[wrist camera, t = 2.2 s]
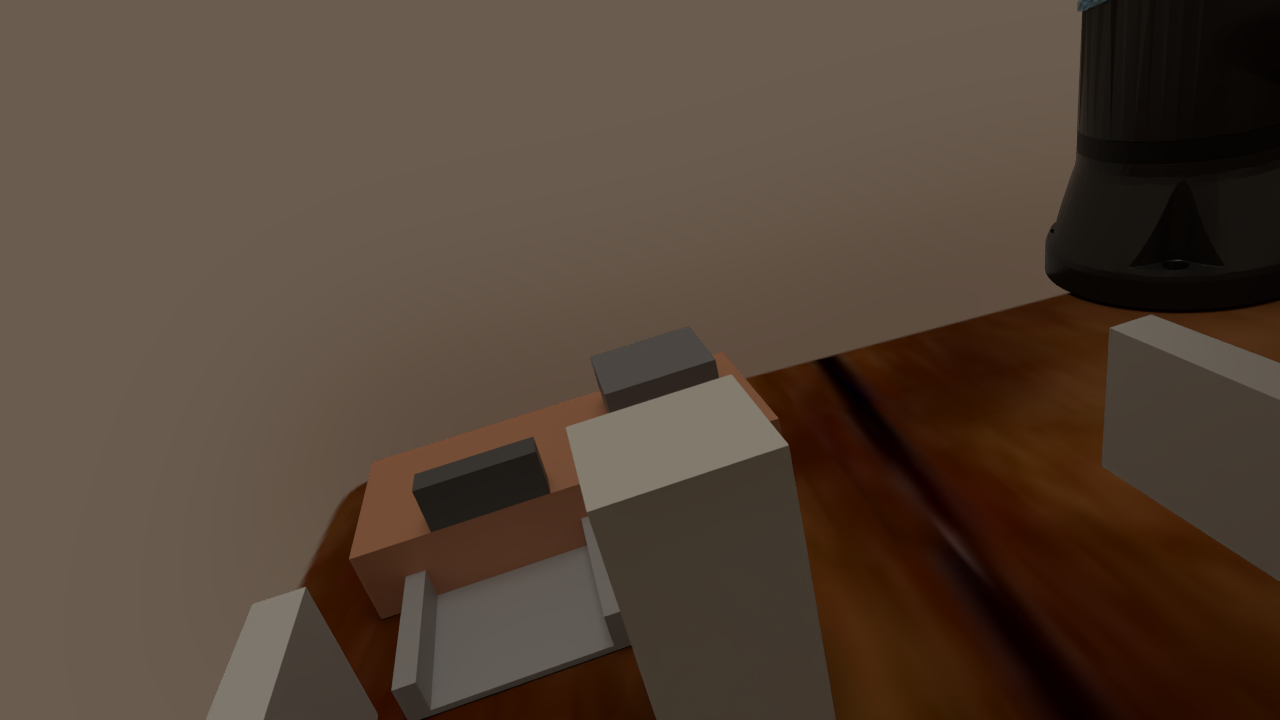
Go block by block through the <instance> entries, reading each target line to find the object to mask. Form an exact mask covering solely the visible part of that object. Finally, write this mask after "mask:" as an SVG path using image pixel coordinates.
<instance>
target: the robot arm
mask: <svg viewBox="0 0 1280 720" xmlns="http://www.w3.org/2000/svg"><path fill="white" fill-rule="evenodd" d="M1077 9H1078V11H1082V30H1081V53H1080V77H1079V99H1078V100H1079V101H1078V122H1077V152H1076V162H1075V166H1074V169H1073V172H1072V175H1071V177H1070V180H1069V183H1068V186H1067V189H1066V192H1065V195H1064V198H1063V201H1062V204H1061V207H1060V210H1059V214H1058V217H1057V221H1056V222H1055V223H1054V224H1053V225H1052V227H1051V228H1050V230H1049V233H1048V235H1047V238H1046V245H1045V246H1046V247H1045V248H1046V249H1045V271H1046V274H1047V276H1048V277H1049V278H1050V280H1051V281H1053V282H1054V283H1055V284H1056V285H1057V286H1059V287H1061V288H1063V289H1065V290H1066V291H1068V292H1071V293H1073V294H1076V295H1078V296H1081V297H1084V298H1087V299H1091V300H1095V301H1099V302H1103V303H1108V304H1114V305H1120V306H1127V307H1135V308H1146V309H1163V310H1197V309H1214V308H1225V307H1233V306H1241V305H1247V304H1252V303H1258V302H1262V301H1267V300H1271V299H1274V298H1278V297H1280V0H1079V1H1078V3H1077ZM1102 467H1104V468H1105V469H1107V470H1109V471H1110V472H1112V473H1113V474H1115V475H1116V476H1118V477H1119V478H1121V479H1122V480H1124V481H1126V482H1127V483H1129V484H1130V485H1132V486H1133V487H1135V488H1136V489H1138V490H1139V491H1141V492H1142V493H1144V494H1146V495H1147V496H1149V497H1150V498H1152V499H1153V500H1155V501H1156V502H1158V503H1159V504H1161V505H1162V506H1164V507H1166V508H1167V509H1169V510H1170V511H1172V512H1173V513H1175V514H1176V515H1178V516H1179V517H1181V518H1183V519H1184V520H1186V521H1187V522H1189V523H1190V524H1192V525H1193V526H1195V527H1196V528H1198V529H1199V530H1201V531H1203V532H1204V533H1206V534H1207V535H1209V536H1210V537H1212V538H1213V539H1215V540H1216V541H1218V542H1220V543H1221V544H1223V545H1224V546H1226V547H1227V548H1229V549H1230V550H1232V551H1233V552H1235V553H1236V554H1238V555H1240V556H1241V557H1243V558H1244V559H1246V560H1247V561H1249V562H1250V563H1252V564H1253V565H1255V566H1257V567H1258V568H1260V569H1261V570H1263V571H1264V572H1266V573H1267V574H1269V575H1270V576H1272V577H1273V578H1275V579H1277V580H1278V581H1280V363H1278V362H1275V361H1273V360H1270V359H1267V358H1265V357H1262V356H1260V355H1257V354H1254V353H1252V352H1249V351H1246V350H1244V349H1241V348H1238V347H1236V346H1233V345H1230V344H1228V343H1225V342H1222V341H1220V340H1217V339H1215V338H1212V337H1209V336H1207V335H1204V334H1201V333H1199V332H1196V331H1193V330H1191V329H1188V328H1185V327H1183V326H1180V325H1177V324H1175V323H1172V322H1170V321H1167V320H1164V319H1162V318H1159V317H1156V316H1154V315H1148V316H1145V317H1142V318H1139V319H1136V320H1133V321H1129V322H1126V323H1123V324H1120V325H1117V326H1114V327H1111V328H1110V330H1109V347H1108V365H1107V382H1106V400H1105V417H1104V434H1103V452H1102ZM377 717H378V714H377V712H376V710H375V709H374V707H373V705H372V703H371V702H370V700H369V698H368V696H367V694H366V693H365V691H364V689H363V687H362V686H361V684H360V682H359V680H358V679H357V677H356V675H355V673H354V671H353V670H352V668H351V666H350V664H349V663H348V661H347V659H346V657H345V656H344V654H343V652H342V650H341V648H340V647H339V645H338V643H337V641H336V640H335V638H334V636H333V634H332V633H331V631H330V629H329V627H328V625H327V624H326V622H325V620H324V618H323V617H322V615H321V613H320V611H319V610H318V608H317V606H316V604H315V602H314V601H313V599H312V597H311V595H310V594H309V592H308V590H307V588H306V587H304V588H301V589H298V590H295V591H292V592H289V593H286V594H282V595H279V596H276V597H273V598H270V599H267V600H264V601H261V602H258V603H255V604H253V605H252V607H251V610H250V612H249V614H248V617H247V619H246V622H245V624H244V627H243V629H242V632H241V634H240V637H239V639H238V642H237V644H236V646H235V649H234V651H233V654H232V656H231V659H230V661H229V664H228V666H227V669H226V671H225V674H224V676H223V679H222V681H221V683H220V686H219V688H218V691H217V694H216V696H215V698H214V701H213V703H212V706H211V708H210V710H209V713H208V715H207V718H206V720H377Z"/></svg>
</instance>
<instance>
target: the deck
mask: <svg viewBox="0 0 1280 720" xmlns="http://www.w3.org/2000/svg"><path fill="white" fill-rule="evenodd" d="M590 358H591V362H592V365H593V368H594V372H595V375H596V378H597V382H598V385H599V389H600V391H597V392H594V393H590V394H587V395H584V396H581V397H578V398H575V399H572V400H568V401H565V402H562V403H559V404H556V405H553V406H549V407H546V408H543V409H540V410H537V411H533V412H530V413H527V414H524V415H521V416H518V417H514V418H512V419H508V420H505V421H502V422H499V423H496V424H492V425H489V426H486V427H483V428H480V429H477V430H473V431H470V432H467V433H464V434H460V435H457V436H454V437H451V438H448V439H445V440H442V441H438V442H435V443H432V444H429V445H426V446H422V447H420V448H416V449H413V450H410V451H407V452H404V453H400V454H397V455H394V456H391V457H388V458H385V459H382V460H378V461H375V462H373V463H372V467H371V471H370V475H369V479H368V483H367V487H366V491H365V495H364V500H363V504H362V508H361V512H360V516H359V520H358V524H357V529H356V533H355V537H354V541H353V545H352V549H351V553H350V558H349V560H350V562H351V564H352V566H353V568H354V569H355V571H356V573H357V575H358V577H359V579H360V581H361V582H362V584H363V586H364V588H365V590H366V592H367V594H368V596H369V597H370V599H371V601H372V603H373V605H374V607H375V609H376V610H377V612H378V614H379V616H380V618H381V619H384V618H387V617H390V616H393V615H396V614H399V613H401V619H400V627H399V635H398V642H397V650H396V658H395V666H394V674H393V682H392V690H391V691H392V693H393V695H394V696H395V698H396V700H397V702H398V703H399V705H400V707H401V709H402V711H403V712H404V714H405V716H406V718H407V719H408V720H420V719H423V718H426V717H429V716H432V715H435V714H437V713H440V712H443V711H446V710H449V709H452V708H454V707H457V706H460V705H463V704H466V703H469V702H471V701H474V700H477V699H480V698H483V697H486V696H488V695H491V694H494V693H497V692H500V691H503V690H505V689H508V688H511V687H514V686H517V685H520V684H522V683H525V682H528V681H531V680H534V679H537V678H539V677H542V676H545V675H548V674H551V673H554V672H556V671H559V670H562V669H565V668H568V667H571V666H573V665H576V664H579V663H582V662H585V661H588V660H590V659H593V658H596V657H599V656H602V655H605V654H607V653H610V652H613V651H616V650H619V649H622V648H625V647H627V646H630V645H631V643H630V640H629V637H628V634H627V631H626V628H625V625H624V622H623V619H622V616H621V613H620V610H619V607H618V604H617V601H616V598H615V595H614V592H613V589H612V586H611V583H610V580H609V577H608V574H607V571H606V568H605V565H604V562H603V559H602V556H601V553H600V550H599V547H598V544H597V541H596V538H595V535H594V532H593V529H592V526H591V523H590V520H589V517H588V514H587V511H586V507H585V503H584V499H583V495H582V491H581V487H580V483H579V479H578V475H577V471H576V467H575V463H574V459H573V455H572V451H571V447H570V443H569V439H568V435H567V431H566V427H568V426H571V425H574V424H577V423H580V422H583V421H586V420H589V419H593V418H596V417H599V416H602V415H605V414H608V413H611V412H615V411H618V410H621V409H624V408H627V407H630V406H633V405H636V404H640V403H643V402H646V401H649V400H652V399H655V398H658V397H662V396H665V395H668V394H671V393H674V392H677V391H680V390H684V389H687V388H690V387H693V386H696V385H699V384H702V383H705V382H709V381H712V380H715V379H718V378H721V377H724V376H727V375H731V374H732V375H733V377H734V378H735V379H736V380H737V382H738V383H739V384H740V385H741V387H742V388H743V389H744V390H745V391H746V393H747V394H748V395H749V396H750V398H751V399H752V400H753V401H754V403H755V404H756V405H757V406H758V408H759V409H760V410H761V411H762V413H763V414H764V415H765V416H766V418H767V419H768V420H769V421H770V423H771V424H772V425H773V426H774V427H775V429H776V430H777V431H778V432H779V434H780V435H781V430H780V424H779V419H778V417H777V416H776V415H775V414H774V413H773V411H772V410H771V409H770V408H769V407H768V405H767V404H766V403H765V402H764V401H763V399H762V398H761V397H760V396H759V395H758V393H757V392H756V391H755V390H754V389H753V387H752V386H751V385H750V384H749V383H748V381H747V380H746V379H745V378H744V377H743V376H742V374H741V373H740V372H739V371H738V369H737V368H736V367H735V366H734V365H733V363H732V362H731V361H730V360H729V359H728V358H727V356H726V355H725V354H724V353H723V352H720V353H717V354H714V355H711V353H710V352H709V351H708V350H707V348H706V347H705V346H704V345H703V343H702V342H701V341H700V339H699V338H698V337H697V336H696V335H695V333H694V332H693V331H692V329H691V328H690V327H685V328H682V329H679V330H675V331H672V332H669V333H666V334H663V335H659V336H656V337H653V338H650V339H646V340H643V341H640V342H637V343H634V344H630V345H627V346H624V347H621V348H618V349H614V350H611V351H608V352H605V353H602V354H598V355H595V356H592V357H590ZM781 436H782V435H781Z"/></svg>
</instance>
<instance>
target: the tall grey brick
mask: <svg viewBox="0 0 1280 720" xmlns="http://www.w3.org/2000/svg"><path fill="white" fill-rule="evenodd" d="M566 431H567V435H568V439H569V443H570V447H571V451H572V455H573V459H574V463H575V467H576V471H577V475H578V479H579V483H580V487H581V491H582V495H583V499H584V503H585V507H586V511H587V514H588V517H589V520H590V523H591V526H592V529H593V532H594V535H595V538H596V541H597V544H598V547H599V550H600V553H601V556H602V559H603V562H604V565H605V568H606V571H607V574H608V577H609V580H610V583H611V586H612V589H613V592H614V595H615V598H616V601H617V604H618V607H619V610H620V613H621V616H622V619H623V622H624V625H625V628H626V631H627V634H628V637H629V640H630V643H631V646H632V649H633V652H634V655H635V657H636V660H637V663H638V666H639V669H640V672H641V675H642V678H643V681H644V684H645V687H646V690H647V693H648V696H649V699H650V702H651V705H652V708H653V711H654V714H655V717H656V720H836V717H835V711H834V705H833V700H832V694H831V688H830V682H829V676H828V671H827V665H826V659H825V653H824V647H823V641H822V636H821V630H820V624H819V618H818V612H817V607H816V601H815V595H814V589H813V583H812V577H811V572H810V566H809V560H808V554H807V548H806V543H805V537H804V531H803V525H802V519H801V513H800V508H799V502H798V496H797V490H796V484H795V479H794V473H793V467H792V461H791V455H790V449H789V445H788V444H787V442H786V441H785V440H784V439H783V437H782V436H781V435H780V434H779V432H778V431H777V430H776V429H775V427H774V426H773V425H772V424H771V423H770V421H769V420H768V419H767V418H766V416H765V415H764V414H763V413H762V411H761V410H760V409H759V408H758V406H757V405H756V404H755V403H754V401H753V400H752V399H751V398H750V396H749V395H748V394H747V393H746V391H745V390H744V389H743V388H742V387H741V385H740V384H739V383H738V382H737V380H736V379H735V378H734V377H733V375H732V374H731V375H727V376H724V377H721V378H718V379H715V380H712V381H709V382H705V383H702V384H699V385H696V386H693V387H690V388H687V389H684V390H680V391H677V392H674V393H671V394H668V395H665V396H662V397H658V398H655V399H652V400H649V401H646V402H643V403H640V404H636V405H633V406H630V407H627V408H624V409H621V410H618V411H615V412H611V413H608V414H605V415H602V416H599V417H596V418H593V419H589V420H586V421H583V422H580V423H577V424H574V425H571V426H568V427H566Z"/></svg>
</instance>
